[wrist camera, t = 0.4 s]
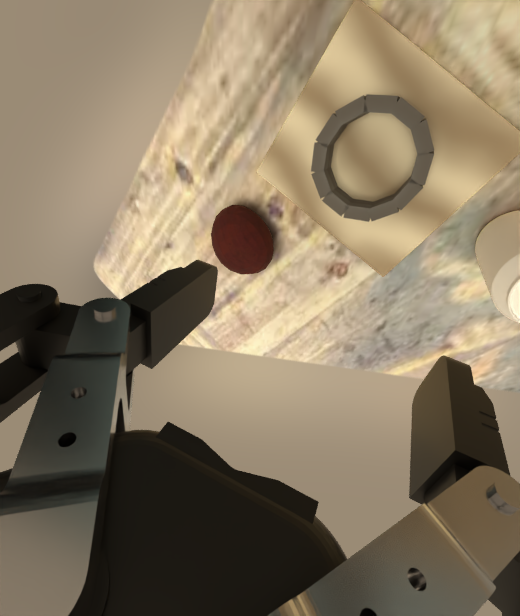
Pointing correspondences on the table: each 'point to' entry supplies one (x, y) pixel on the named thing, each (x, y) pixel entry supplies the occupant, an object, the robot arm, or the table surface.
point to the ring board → (384, 142)
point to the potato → (242, 240)
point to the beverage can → (502, 262)
